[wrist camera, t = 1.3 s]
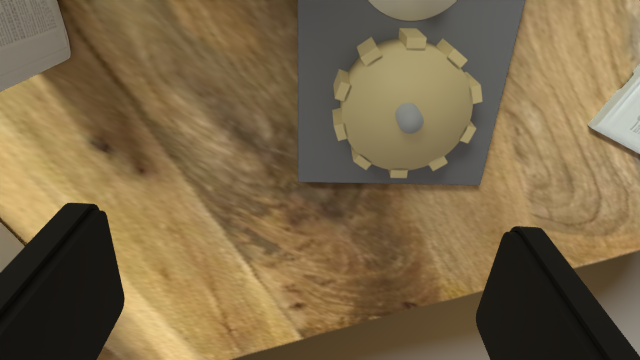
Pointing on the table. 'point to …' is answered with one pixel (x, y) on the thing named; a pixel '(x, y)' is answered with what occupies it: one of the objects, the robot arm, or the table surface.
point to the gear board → (338, 50)
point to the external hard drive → (622, 115)
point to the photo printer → (30, 39)
